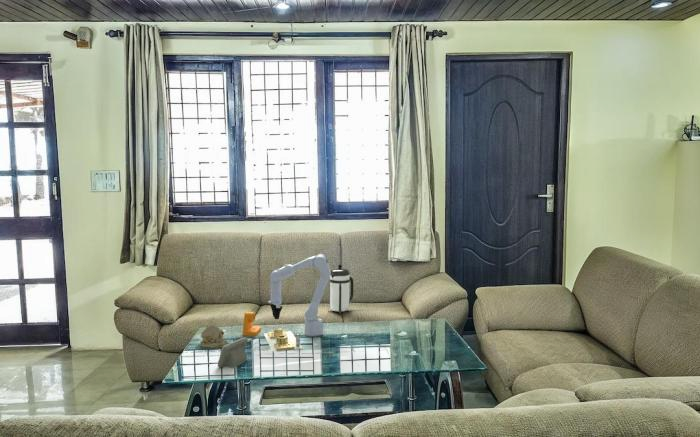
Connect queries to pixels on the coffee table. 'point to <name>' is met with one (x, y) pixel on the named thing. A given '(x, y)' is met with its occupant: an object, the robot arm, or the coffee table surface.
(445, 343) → the coffee table surface
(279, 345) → the fixed leaf
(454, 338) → the coffee table surface
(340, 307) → the coffee press
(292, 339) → the board
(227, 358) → the digital clock
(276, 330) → the loose leaf
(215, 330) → the ceramic model
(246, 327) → the bracket
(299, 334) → the pin
